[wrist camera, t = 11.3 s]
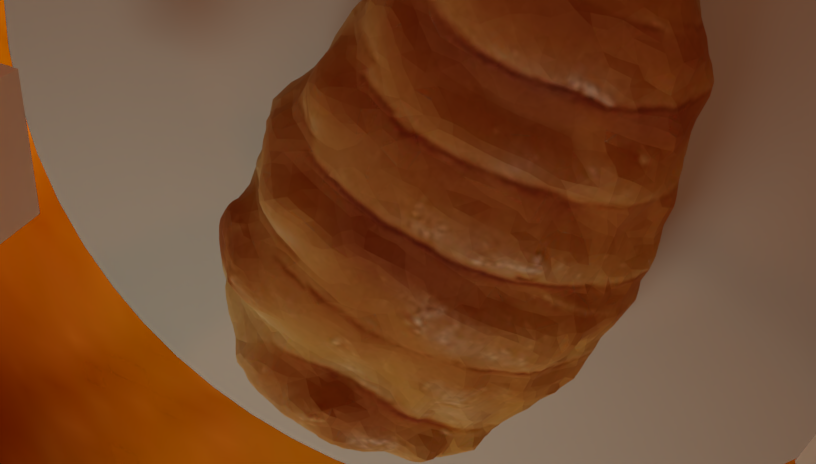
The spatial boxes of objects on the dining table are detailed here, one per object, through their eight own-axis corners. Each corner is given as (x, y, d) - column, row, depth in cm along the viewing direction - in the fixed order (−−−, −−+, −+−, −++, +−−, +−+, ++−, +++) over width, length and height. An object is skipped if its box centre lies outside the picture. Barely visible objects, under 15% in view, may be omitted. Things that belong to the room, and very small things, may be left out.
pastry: (419, -225, 10) (320, -207, 7) (843, 16, 10) (927, 135, 7) (238, 246, 16) (139, 370, 13) (515, 394, 16) (484, 552, 13)
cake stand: (175, 240, 24) (58, 363, 20) (161, -507, 14) (-99, -636, 9) (715, 416, 22) (732, 601, 18) (1184, -311, 12) (1550, -346, 7)
